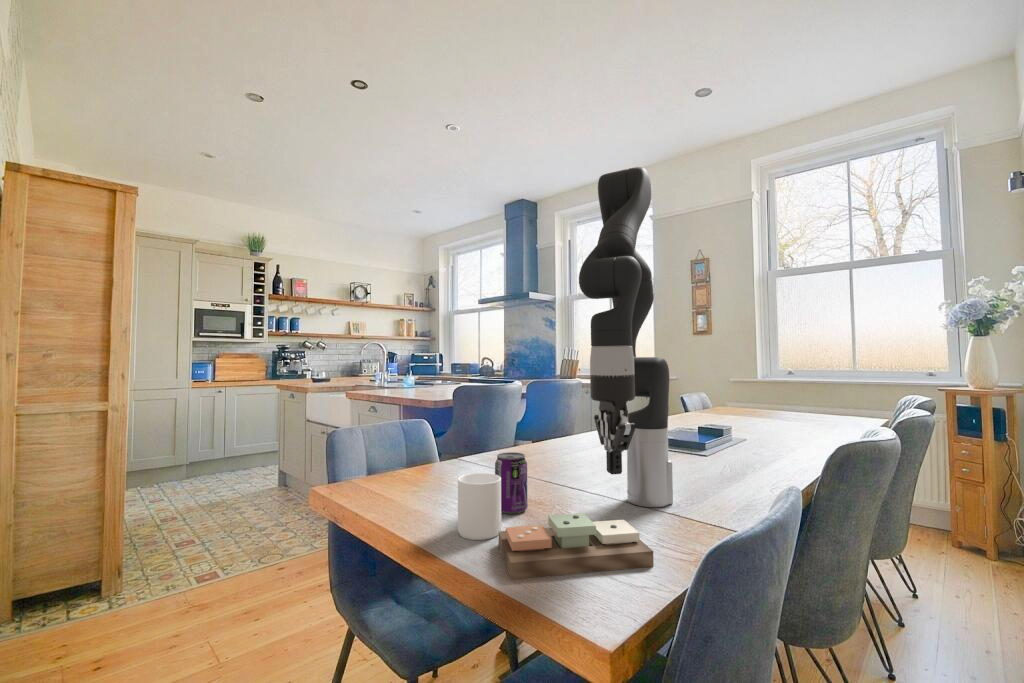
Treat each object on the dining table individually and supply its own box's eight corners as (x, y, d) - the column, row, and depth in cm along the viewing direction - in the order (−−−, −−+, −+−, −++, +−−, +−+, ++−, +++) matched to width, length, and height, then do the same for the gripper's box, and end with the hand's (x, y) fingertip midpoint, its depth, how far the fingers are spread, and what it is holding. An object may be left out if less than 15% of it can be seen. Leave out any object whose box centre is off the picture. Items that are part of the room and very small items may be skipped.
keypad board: (620, 536, 87) (620, 522, 87) (653, 566, 74) (653, 551, 74) (498, 545, 83) (498, 531, 83) (510, 578, 70) (510, 562, 71)
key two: (583, 535, 83) (583, 511, 83) (596, 549, 76) (596, 524, 76) (548, 537, 81) (548, 514, 82) (558, 552, 75) (558, 527, 75)
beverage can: (524, 516, 98) (524, 459, 99) (491, 514, 100) (491, 457, 100) (530, 506, 105) (529, 452, 106) (499, 504, 107) (499, 451, 107)
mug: (459, 519, 97) (459, 469, 97) (499, 518, 97) (499, 468, 98) (456, 541, 85) (456, 484, 85) (502, 540, 85) (502, 483, 86)
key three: (542, 547, 81) (542, 523, 81) (551, 563, 75) (551, 537, 75) (505, 550, 80) (505, 526, 80) (512, 567, 74) (512, 540, 74)
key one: (623, 541, 84) (623, 518, 84) (639, 556, 78) (639, 531, 78) (589, 544, 83) (589, 520, 83) (602, 559, 76) (602, 534, 77)
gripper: (650, 373, 75) (652, 482, 75) (617, 370, 88) (619, 463, 88) (605, 374, 74) (608, 485, 73) (579, 371, 87) (581, 465, 86)
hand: (614, 473), depth 81 cm, fingers closed
